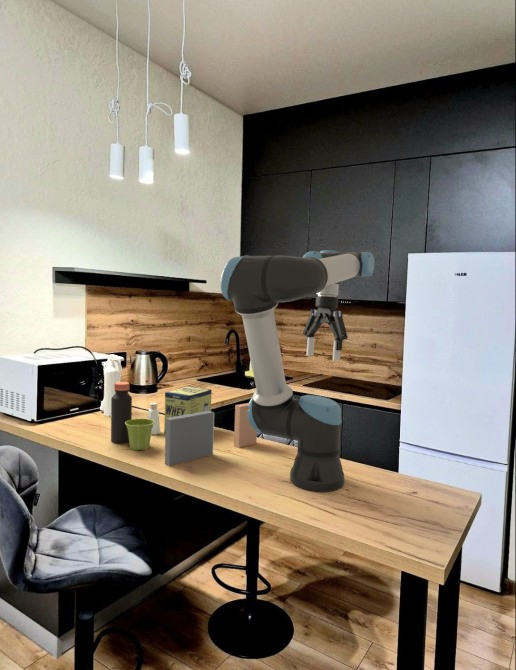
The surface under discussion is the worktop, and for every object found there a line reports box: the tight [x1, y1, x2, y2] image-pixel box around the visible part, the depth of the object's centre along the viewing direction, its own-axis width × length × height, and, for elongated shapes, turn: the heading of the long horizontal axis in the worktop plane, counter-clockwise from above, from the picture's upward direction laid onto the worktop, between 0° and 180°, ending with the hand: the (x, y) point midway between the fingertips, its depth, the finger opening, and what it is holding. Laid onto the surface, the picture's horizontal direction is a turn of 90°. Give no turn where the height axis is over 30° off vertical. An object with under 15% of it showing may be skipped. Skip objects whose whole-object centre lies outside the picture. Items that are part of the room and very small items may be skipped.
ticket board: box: [164, 410, 215, 467], centre depth 148 cm, size 16×3×14 cm, turn 133°
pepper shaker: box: [147, 402, 161, 436], centre depth 175 cm, size 5×5×11 cm
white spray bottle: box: [99, 354, 125, 417], centre depth 198 cm, size 7×12×25 cm, turn 56°
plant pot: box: [125, 418, 154, 451], centre depth 158 cm, size 9×9×9 cm
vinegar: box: [110, 381, 133, 444], centre depth 164 cm, size 7×7×20 cm
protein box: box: [163, 385, 213, 434], centre depth 178 cm, size 10×16×16 cm
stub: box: [233, 402, 258, 449], centre depth 164 cm, size 8×2×14 cm, turn 133°
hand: (322, 357), depth 166 cm, fingers open, 13 cm apart
